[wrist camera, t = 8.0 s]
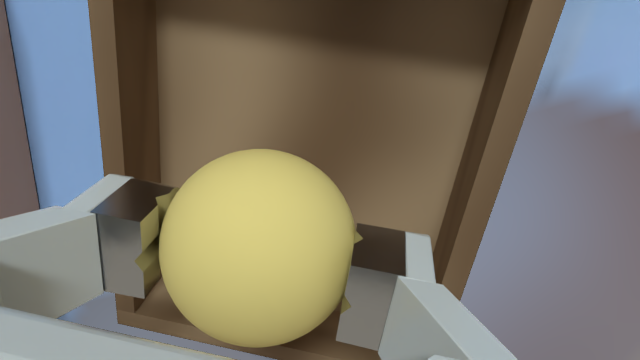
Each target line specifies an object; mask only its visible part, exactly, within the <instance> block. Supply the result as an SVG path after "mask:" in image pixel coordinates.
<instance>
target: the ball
mask: <svg viewBox="0 0 640 360" xmlns="http://www.w3.org/2000/svg"><path fill="white" fill-rule="evenodd" d="M355 231H356V230H355V225H354V220H353V217H352V214H351V211H350V208H349V206H348V204H347V202H346V200H345V198H344V197H343V195H342V193H341V192H340V190H339V189H338V187H337V186H336V185H335V184H334V182H333V181H332V180H331V179H330V178H329V177H328V176H327V175H326V174H325V173H323V172H322V171H321V170H320V169H319V168H317V167H316V166H314V165H313V164H311V163H310V162H308V161H306V160H304V159H302V158H300V157H298V156H295V155H292V154H290V153H286V152H282V151H278V150H271V149H250V150H242V151H237V152H233V153H229V154H226V155H224V156H222V157H219V158H217V159H215V160H213V161H211V162H209V163H208V164H206V165H204V166H203V167H201V168H200V169H199V170H198V171H197V172H195V173H194V174H193V175H192V176H191V177H190V178H188V179H187V181H186V182H185V183H184V184H183V185H182V187H181V188H180V189H179V190H178V192H177V193H176V194H175V196H174V198H173V199H172V201H171V203H170V205H169V207H168V209H167V211H166V214H165V217H164V219H163V223H162V227H161V232H160V237H159V262H160V268H161V273H162V277H163V281H164V284H165V286H166V289H167V291H168V293H169V295H170V296H171V298H172V300H173V302H174V304H175V305H176V307H177V308H178V309H179V311H180V312H181V313H182V314H183V315H184V316H185V318H186V319H188V320H189V321H190V322H191V323H192V324H193V325H194V326H196V327H197V328H198V329H200V330H201V331H202V332H204V333H206V334H207V335H209V336H211V337H213V338H215V339H217V340H220V341H222V342H225V343H229V344H232V345H237V346H242V347H252V348H258V347H269V346H275V345H280V344H284V343H287V342H290V341H293V340H295V339H297V338H299V337H301V336H303V335H305V334H307V333H309V332H310V331H312V330H313V329H314V328H316V327H317V326H318V325H320V324H321V323H322V322H323V321H325V320H326V319H327V317H328V316H329V315H330V314H331V313H332V312H333V311H334V310H335V308H336V307H337V306H338V304H339V303H340V301H341V300H342V298H343V295H344V290H345V288H346V282H347V275H348V270H349V265H350V260H351V255H352V251H353V242H354V237H355Z"/></svg>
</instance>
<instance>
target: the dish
mask: <svg viewBox="0 0 640 360" xmlns="http://www.w3.org/2000/svg"><path fill="white" fill-rule="evenodd" d="M36 210H40V209H39V203H38V197H37V192H36V186H35V180H34V174H33V168H32V162H31V157H30V151H29V145H28V139H27V133H26V127H25V122H24V116H23V110H22V104H21V98H20V92H19V86H18V81H17V75H16V69H15V63H14V57H13V51H12V46H11V40H10V34H9V28H8V22H7V16H6V11H5V5H4V0H0V219H3V218H7V217H11V216H15V215H20V214H24V213H28V212H32V211H36Z"/></svg>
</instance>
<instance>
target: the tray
mask: <svg viewBox="0 0 640 360" xmlns="http://www.w3.org/2000/svg"><path fill="white" fill-rule="evenodd" d="M565 2H566V0H88V8H89V18H90V29H91V40H92V51H93V61H94V72H95V83H96V94H97V104H98V115H99V126H100V137H101V147H102V158H103V169H104V177H105V176H107V175H108V174H118V175H124V176H129V177H134V178H138V179H142V180H147V181H152V182H156V183H161V184H166V185H170V186H175V187H179V188H181V187H182V185H183V184H184V183H185V182H186V181H187V179H188V178H190V177H191V176H192V175H193V174H194V173H195V172H197V171H198V170H199V169H200V168H201V167H203V166H204V165H206V164H208V163H209V162H211V161H213V160H215V159H217V158H219V157H222V156H224V155H226V154H229V153H233V152H237V151H242V150H250V149H271V150H278V151H282V152H286V153H290V154H292V155H295V156H298V157H300V158H302V159H304V160H306V161H308V162H310V163H311V164H313V165H314V166H316V167H317V168H319V169H320V170H321V171H322V172H323V173H325V174H326V175H327V176H328V177H329V178H330V179H331V180H332V181H333V182H334V184H335V185H336V186H337V187H338V189H339V190H340V192H341V193H342V195H343V197H344V198H345V200H346V202H347V204H348V206H349V208H350V211H351V214H352V217H353V220H354V225H355V230H356V225H357V223H361V224H366V225H372V226H378V227H384V228H390V229H396V230H401V231H407V232H413V233H420V234H426V235H429V236H430V238H431V246H432V254H433V263H434V271H435V279H436V283H437V284H441V285H444V286H445V287H446V288H447V289H448V290H449V291H450V292H451V293H452V294H453V295H454V296H455V297H456V298H457V299H458V300H459V301H460V299H461V297H462V294H463V291H464V288H465V285H466V282H467V279H468V276H469V274H470V271H471V268H472V265H473V262H474V260H475V257H476V254H477V251H478V248H479V246H480V242H481V240H482V237H483V234H484V231H485V229H486V226H487V223H488V220H489V217H490V214H491V212H492V208H493V206H494V203H495V200H496V197H497V194H498V192H499V189H500V186H501V183H502V180H503V177H504V175H505V172H506V169H507V166H508V163H509V160H510V158H511V155H512V152H513V149H514V146H515V143H516V141H517V137H518V135H519V132H520V129H521V126H522V123H523V120H524V118H525V115H526V112H527V109H528V107H529V104H530V101H531V98H532V95H533V92H534V90H535V87H536V84H537V81H538V78H539V75H540V72H541V70H542V67H543V64H544V61H545V58H546V55H547V53H548V50H549V47H550V44H551V41H552V38H553V36H554V33H555V30H556V27H557V24H558V21H559V19H560V16H561V13H562V10H563V7H564V4H565ZM115 298H116V309H117V320H118V324H123V325H127V326H131V327H136V328H140V329H145V330H149V331H154V332H158V333H162V334H167V335H171V336H176V337H180V338H185V339H189V340H194V341H199V342H202V343H207V344H211V345H216V346H220V347H225V348H229V349H233V350H238V351H242V352H247V353H251V354H256V355H260V356H265V357H269V358H273V359H278V360H381V358H380V356H379V354H378V351H376V350H372V349H368V348H364V347H360V346H356V345H352V344H347V343H343V342H339V341H336V335H337V328H338V322H339V316H340V310H341V305H342V300H341V301H340V303H339V304H338V306H337V307H336V308H335V310H334V311H333V312H332V313H331V314H330V315H329V316H328V317H327V319H326V320H325V321H323V322H322V323H321V324H320V325H318V326H317V327H316V328H314V329H313V330H312V331H310V332H309V333H307V334H305V335H303V336H301V337H299V338H297V339H295V340H293V341H290V342H287V343H284V344H280V345H275V346H269V347H258V348H252V347H242V346H237V345H232V344H229V343H225V342H222V341H220V340H217V339H215V338H213V337H211V336H209V335H207V334H206V333H204V332H202V331H201V330H200V329H198V328H197V327H196V326H194V325H193V324H192V323H191V322H190V321H189V320H188V319H186V318H185V316H184V315H183V314H182V313H181V312H180V311H179V309H178V308H177V307H176V305H175V304H174V302H173V300H172V298H171V296H170V295H169V293H168V291H167V289H166V286H165V284H164V281H163V277H162V273H161V269H160V279H159V280H158V282H157V283H156V284H155V286H154V287H153V288H152V290H151V291H150V292H149V294H148V295H147V296H146V298H145V299H143V298H138V297H132V296H127V295H122V294H116V293H115Z"/></svg>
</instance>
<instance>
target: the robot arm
mask: <svg viewBox="0 0 640 360" xmlns="http://www.w3.org/2000/svg"><path fill="white" fill-rule="evenodd" d="M179 189H180V188H179V187H175V186H170V185H166V184H161V183H156V182H152V181H147V180H142V179H138V178H134V177H129V176H124V175H118V174H108V175H107V176H105V177H104V178H102V179H101V180H100V181H98V182H97V183H96V184H94V185H93V186H91V187H90V188H89V189H87V190H86V191H85V192H83V193H82V194H80V195H79V196H78V197H76V198H75V199H74V200H72V201H71V202H69V203H68V204H67V205H65V206H64V207H60V206H52V207H48V208H44V209H40V210H36V211H32V212H28V213H24V214H20V215H15V216H11V217H7V218H3V219H0V360H237V359H232V358H228V357H223V356H219V355H214V354H210V353H205V352H201V351H196V350H192V349H187V348H183V347H179V346H174V345H170V344H165V343H161V342H157V341H152V340H148V339H143V338H139V337H135V336H130V335H126V334H121V333H117V332H112V331H108V330H104V329H99V328H95V327H90V326H86V325H82V324H77V323H73V322H68V321H64V320H59V319H56V318H58V317H60V316H62V315H64V314H66V313H68V312H70V311H71V310H73V309H75V308H77V307H79V306H81V305H83V304H84V303H86V302H88V301H90V300H92V299H94V298H96V297H98V296H100V295H101V294H103V293H104V291H106V292H111V293H116V294H122V295H127V296H132V297H138V298H143V299H145V298H146V296H147V295H148V294H149V292H150V291H151V290H152V288H153V287H154V286H155V284H156V283H157V282H158V280H159V279H160V269H161V268H160V262H159V237H160V232H161V227H162V223H163V219H164V217H165V214H166V211H167V209H168V207H169V205H170V203H171V201H172V199H173V198H174V196H175V194H176V193H177V192H178V190H179ZM336 341H339V342H343V343H347V344H352V345H356V346H360V347H364V348H368V349H372V350H376V351H378V354H379V356H380V358H381V360H518V359H517V358H516V357H515V356H514V355H513V354H512V353H511V352H510V351H509V350H508V349H507V348H506V347H505V346H504V345H503V344H502V343H500V341H499V340H498V339H497V338H496V337H495V336H494V335H493V334H492V333H491V332H490V331H489V330H488V329H487V328H486V327H485V326H484V325H483V324H482V323H481V322H480V321H479V320H478V319H477V318H476V317H475V316H474V315H473V314H472V313H471V312H470V311H469V310H468V309H467V308H466V307H465V306H464V305H463V304H462V303H461V302H460V301H459V300H458V299H457V298H456V297H455V296H454V295H453V294H452V293H451V292H450V291H449V290H448V289H447V288H446V287H445V286H444V285H441V284H437V283H436V279H435V271H434V263H433V254H432V246H431V238H430V236H429V235H426V234H420V233H413V232H407V231H401V230H396V229H390V228H384V227H378V226H372V225H366V224H361V223H357V225H356V231H355V237H354V242H353V251H352V255H351V260H350V265H349V270H348V275H347V282H346V288H345V290H344V295H343V298H342V305H341V310H340V316H339V322H338V328H337V335H336Z"/></svg>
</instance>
